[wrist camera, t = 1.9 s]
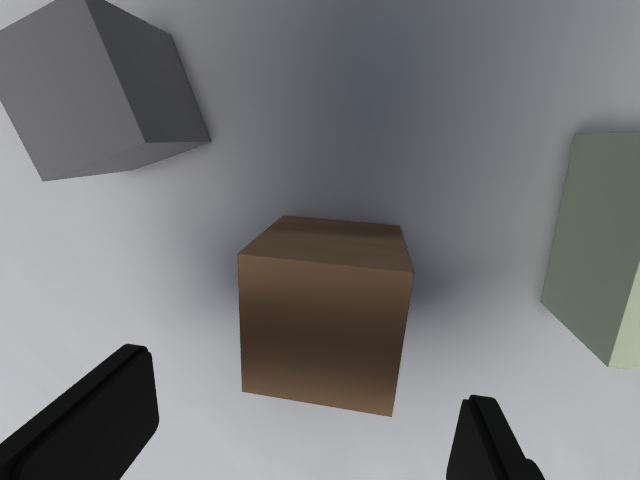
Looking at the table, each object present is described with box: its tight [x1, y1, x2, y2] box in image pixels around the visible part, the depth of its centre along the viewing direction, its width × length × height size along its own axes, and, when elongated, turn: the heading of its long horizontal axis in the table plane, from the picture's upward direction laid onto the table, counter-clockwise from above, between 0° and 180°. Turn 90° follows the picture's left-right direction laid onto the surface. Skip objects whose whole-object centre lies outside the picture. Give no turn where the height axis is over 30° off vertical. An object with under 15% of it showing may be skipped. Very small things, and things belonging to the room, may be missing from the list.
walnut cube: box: [238, 216, 414, 417], centre depth 14 cm, size 6×6×6 cm
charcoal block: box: [0, 0, 211, 181], centre depth 14 cm, size 5×5×5 cm
